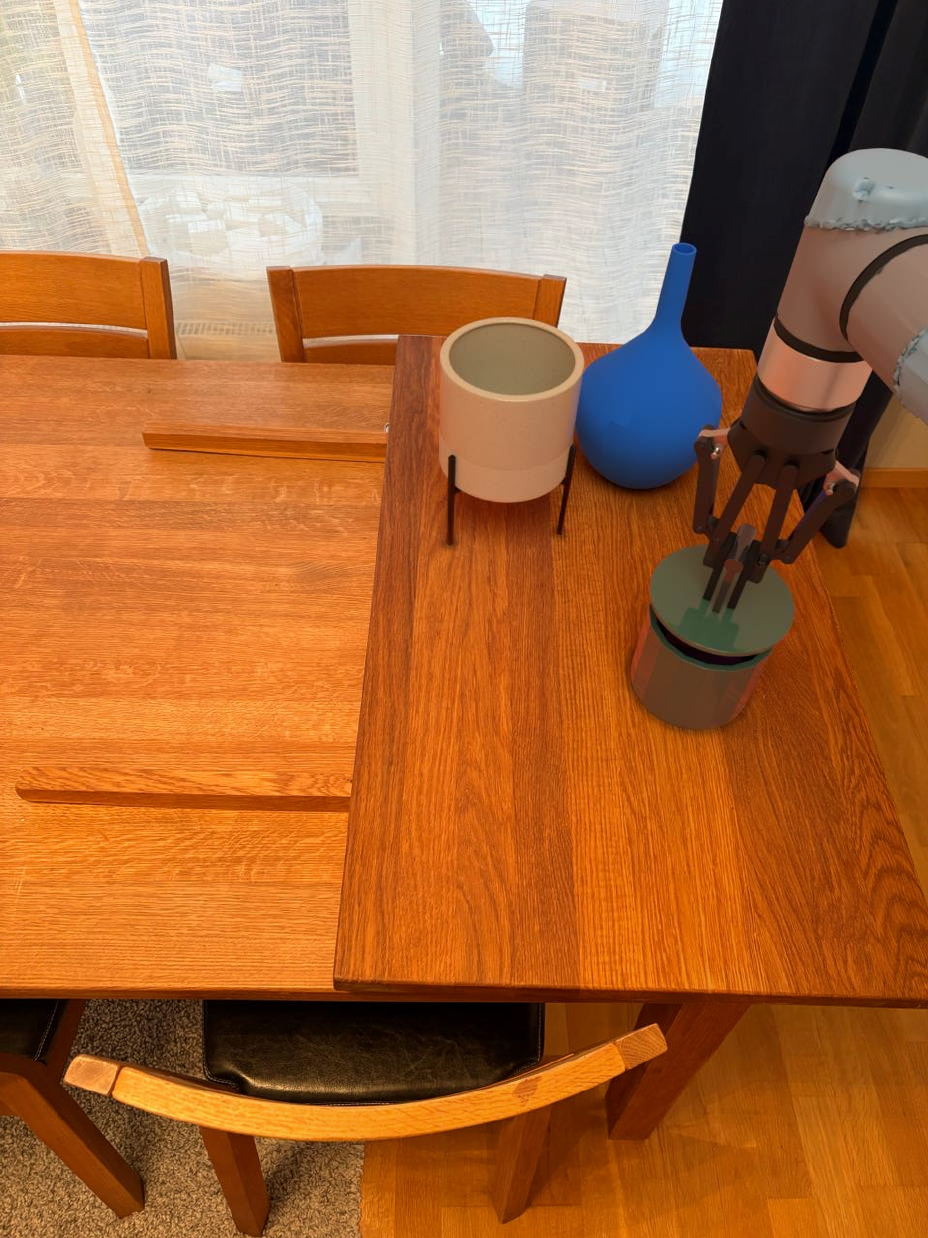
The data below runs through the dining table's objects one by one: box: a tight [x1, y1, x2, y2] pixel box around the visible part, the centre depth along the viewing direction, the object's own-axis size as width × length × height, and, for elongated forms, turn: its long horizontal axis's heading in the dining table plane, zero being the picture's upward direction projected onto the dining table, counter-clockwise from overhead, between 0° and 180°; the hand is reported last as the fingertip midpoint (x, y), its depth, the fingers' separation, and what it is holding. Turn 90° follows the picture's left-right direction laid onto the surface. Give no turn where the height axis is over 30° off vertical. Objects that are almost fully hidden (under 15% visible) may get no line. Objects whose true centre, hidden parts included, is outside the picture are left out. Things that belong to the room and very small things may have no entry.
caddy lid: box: [648, 523, 796, 657], centre depth 79 cm, size 14×14×8 cm
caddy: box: [630, 602, 775, 731], centre depth 88 cm, size 12×12×10 cm
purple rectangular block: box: [665, 629, 742, 666], centre depth 91 cm, size 8×4×2 cm
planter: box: [438, 316, 585, 546], centre depth 99 cm, size 15×16×23 cm
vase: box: [574, 242, 723, 490], centre depth 103 cm, size 18×18×30 cm
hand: (722, 593), depth 81 cm, fingers closed on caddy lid, 2 cm apart
